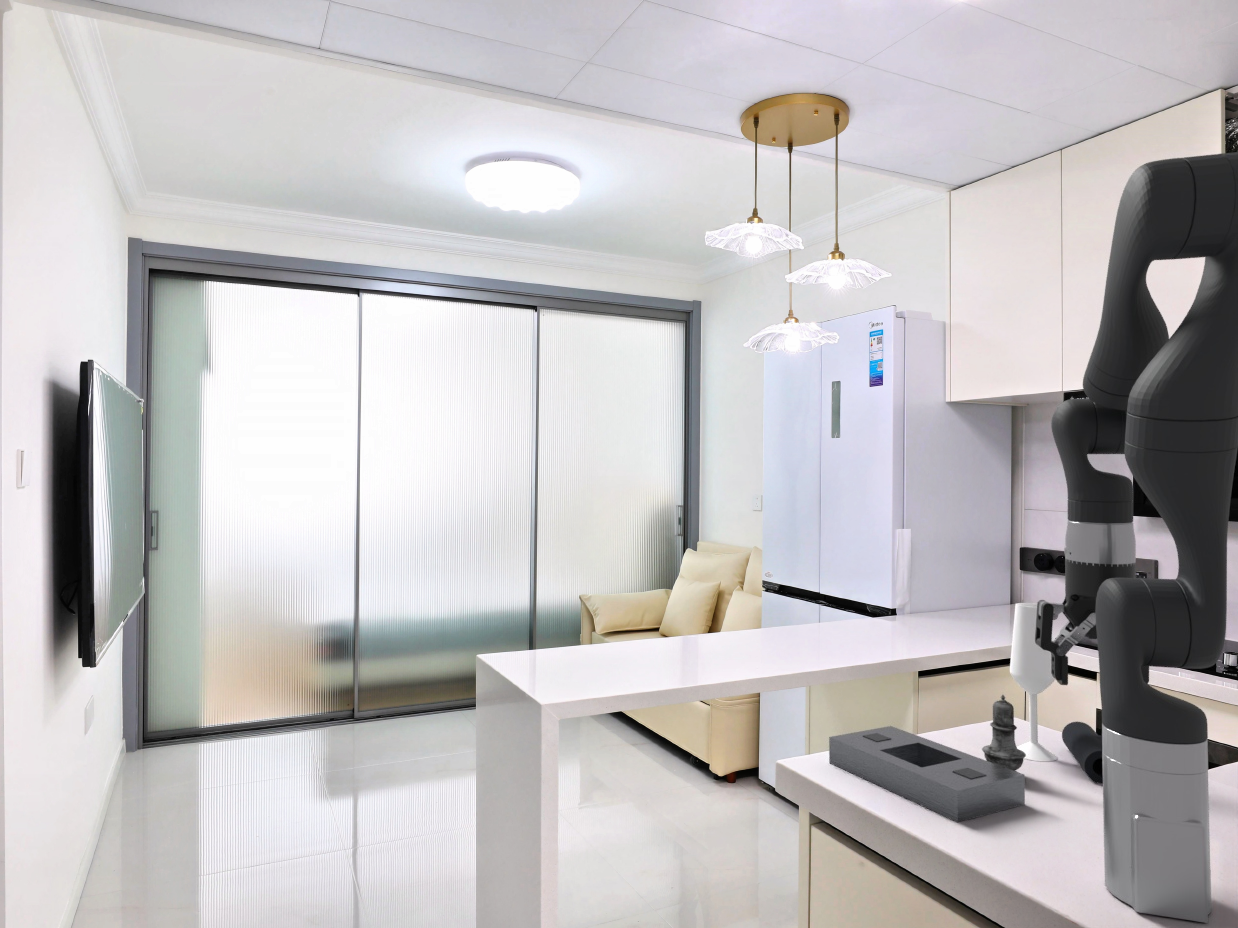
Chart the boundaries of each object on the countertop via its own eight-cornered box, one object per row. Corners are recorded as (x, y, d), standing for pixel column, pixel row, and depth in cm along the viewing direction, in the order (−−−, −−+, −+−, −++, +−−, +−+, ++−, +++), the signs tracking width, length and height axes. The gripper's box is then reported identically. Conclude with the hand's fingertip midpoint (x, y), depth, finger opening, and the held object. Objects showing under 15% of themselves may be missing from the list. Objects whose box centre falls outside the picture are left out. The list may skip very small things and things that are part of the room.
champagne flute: (1008, 745, 130) (1006, 601, 130) (1054, 750, 127) (1052, 603, 128) (1012, 757, 123) (1010, 606, 124) (1060, 763, 121) (1058, 609, 122)
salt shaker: (1007, 785, 112) (1006, 701, 112) (973, 771, 117) (972, 691, 118) (1035, 779, 114) (1034, 697, 115) (1001, 766, 120) (1000, 687, 120)
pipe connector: (1141, 724, 124) (1175, 755, 110) (1143, 758, 124) (1177, 792, 110) (1061, 719, 128) (1083, 747, 114) (1062, 751, 128) (1085, 784, 114)
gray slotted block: (1024, 804, 105) (1024, 773, 105) (957, 822, 99) (957, 789, 100) (891, 750, 127) (890, 725, 127) (829, 762, 121) (829, 736, 121)
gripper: (1047, 560, 95) (1047, 691, 95) (1178, 562, 92) (1178, 698, 92) (1028, 552, 102) (1028, 674, 103) (1149, 554, 99) (1149, 679, 100)
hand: (1099, 685), depth 97 cm, fingers open, 8 cm apart
